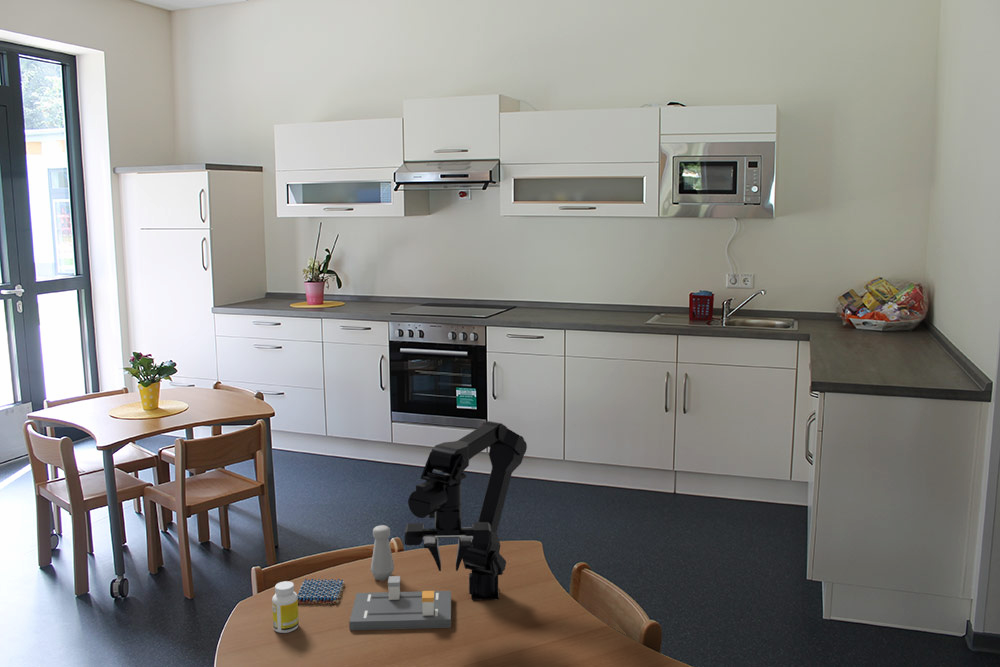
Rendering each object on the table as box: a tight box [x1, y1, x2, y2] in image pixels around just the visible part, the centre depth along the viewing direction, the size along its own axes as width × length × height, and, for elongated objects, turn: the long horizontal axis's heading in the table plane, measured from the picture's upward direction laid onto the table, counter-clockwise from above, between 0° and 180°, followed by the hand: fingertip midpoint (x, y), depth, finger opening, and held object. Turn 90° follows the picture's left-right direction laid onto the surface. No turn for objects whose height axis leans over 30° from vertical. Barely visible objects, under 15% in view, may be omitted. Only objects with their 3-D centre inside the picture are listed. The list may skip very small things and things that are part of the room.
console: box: [348, 590, 452, 631], centre depth 182 cm, size 22×13×2 cm, turn 93°
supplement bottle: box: [271, 580, 300, 634], centre depth 175 cm, size 5×5×10 cm
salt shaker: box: [370, 524, 395, 582], centre depth 199 cm, size 6×6×13 cm
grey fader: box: [387, 575, 401, 600], centre depth 185 cm, size 3×3×4 cm
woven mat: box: [297, 578, 346, 605], centre depth 191 cm, size 10×11×2 cm
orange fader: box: [421, 590, 435, 616], centre depth 178 cm, size 3×3×4 cm
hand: (448, 570), depth 177 cm, fingers open, 3 cm apart
